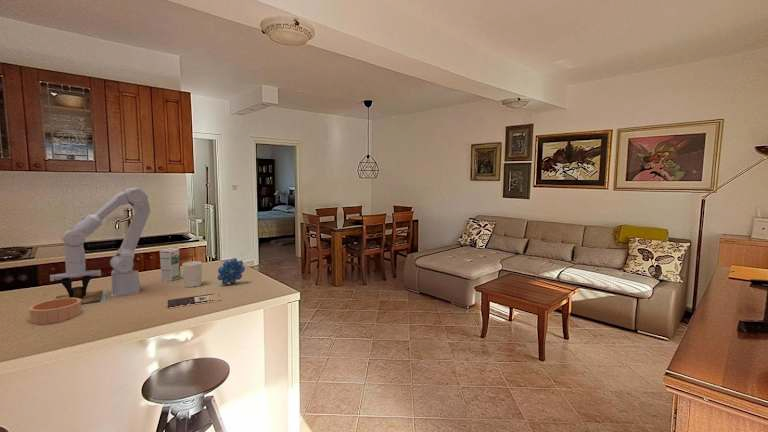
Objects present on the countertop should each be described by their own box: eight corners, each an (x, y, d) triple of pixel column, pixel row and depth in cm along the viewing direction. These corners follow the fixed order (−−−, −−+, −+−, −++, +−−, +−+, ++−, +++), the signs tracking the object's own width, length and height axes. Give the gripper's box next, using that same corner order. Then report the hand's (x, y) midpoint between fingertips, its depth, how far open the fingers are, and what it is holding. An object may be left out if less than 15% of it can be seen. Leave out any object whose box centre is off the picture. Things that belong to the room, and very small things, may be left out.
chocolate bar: (167, 300, 137) (218, 292, 147) (167, 302, 138) (218, 295, 147) (168, 307, 130) (221, 299, 139) (168, 309, 130) (221, 301, 139)
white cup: (189, 288, 154) (188, 266, 153) (179, 285, 158) (178, 263, 157) (206, 284, 161) (205, 262, 160) (196, 281, 165) (195, 260, 164)
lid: (102, 291, 146) (101, 280, 145) (100, 301, 134) (99, 289, 134) (56, 297, 138) (55, 286, 137) (49, 308, 126) (48, 295, 126)
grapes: (243, 280, 168) (242, 255, 167) (246, 283, 162) (245, 258, 161) (216, 283, 162) (215, 257, 161) (218, 287, 156) (217, 260, 155)
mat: (107, 291, 148) (107, 291, 148) (104, 303, 134) (104, 302, 134) (52, 299, 138) (52, 298, 138) (43, 312, 124) (43, 311, 124)
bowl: (83, 307, 130) (83, 295, 129) (79, 318, 119) (78, 305, 119) (34, 314, 122) (33, 301, 122) (25, 327, 112) (24, 313, 111)
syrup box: (171, 281, 165) (170, 250, 163) (160, 280, 166) (159, 249, 165) (181, 278, 170) (179, 248, 169) (170, 277, 172) (169, 247, 170)
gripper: (47, 266, 127) (50, 302, 128) (99, 261, 135) (101, 295, 137) (50, 262, 133) (53, 297, 134) (100, 257, 141) (102, 291, 142)
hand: (77, 296), depth 136 cm, fingers closed on lid, 3 cm apart
